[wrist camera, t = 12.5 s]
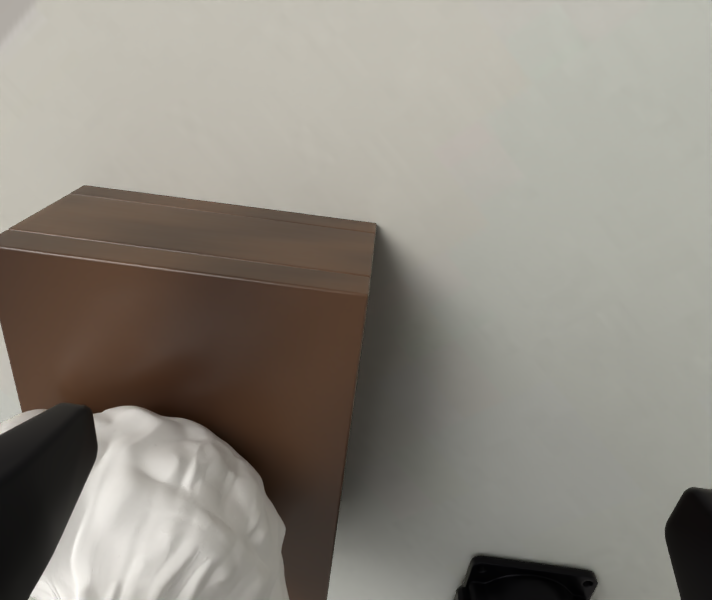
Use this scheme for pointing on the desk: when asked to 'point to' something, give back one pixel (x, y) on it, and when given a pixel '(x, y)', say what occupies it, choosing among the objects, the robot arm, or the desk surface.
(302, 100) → the desk surface
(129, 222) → the walnut keepsake box
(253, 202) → the desk surface
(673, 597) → the desk surface
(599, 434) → the desk surface
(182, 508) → the bust
